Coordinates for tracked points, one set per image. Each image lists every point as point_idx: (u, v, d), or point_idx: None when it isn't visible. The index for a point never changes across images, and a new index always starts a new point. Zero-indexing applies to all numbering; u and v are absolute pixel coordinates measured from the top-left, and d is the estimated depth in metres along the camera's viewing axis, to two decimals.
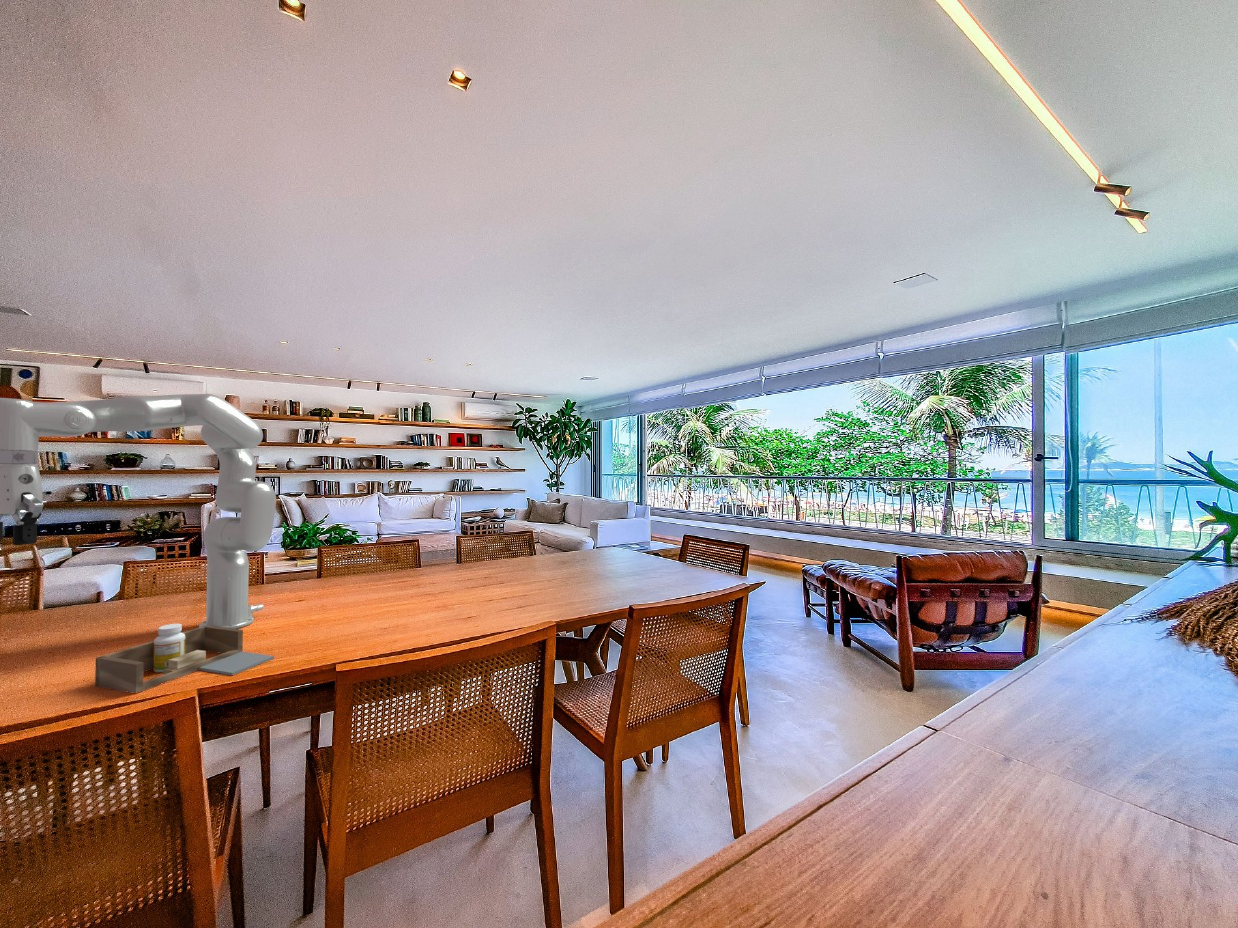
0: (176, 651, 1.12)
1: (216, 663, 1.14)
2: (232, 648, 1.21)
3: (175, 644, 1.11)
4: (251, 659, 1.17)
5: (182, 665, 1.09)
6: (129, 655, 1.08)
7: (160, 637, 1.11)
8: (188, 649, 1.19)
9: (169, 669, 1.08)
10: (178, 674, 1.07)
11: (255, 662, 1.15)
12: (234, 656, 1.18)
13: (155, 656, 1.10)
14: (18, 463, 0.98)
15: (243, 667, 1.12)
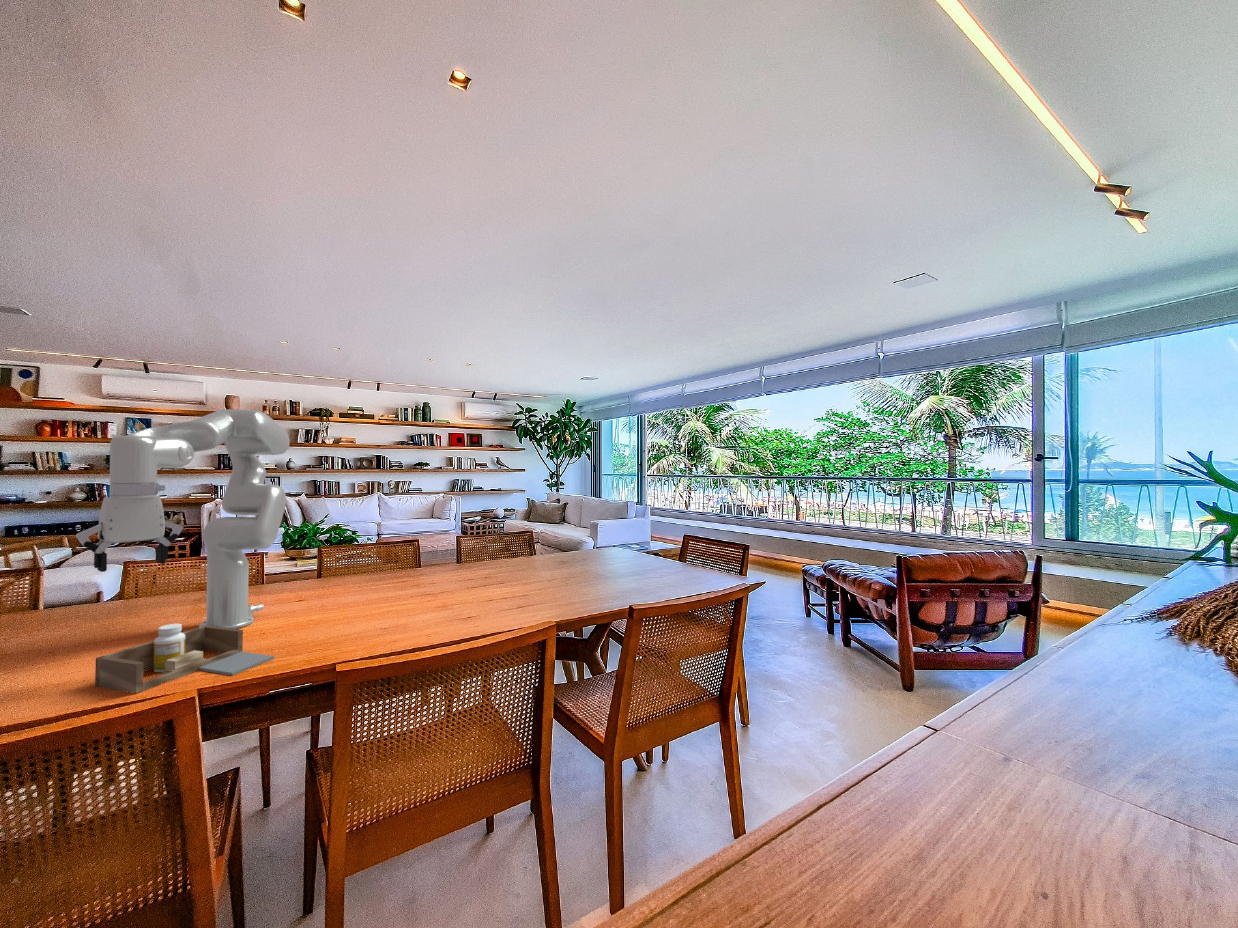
0: (176, 651, 1.12)
1: (216, 663, 1.14)
2: (232, 648, 1.21)
3: (175, 644, 1.11)
4: (251, 659, 1.17)
5: (180, 665, 1.09)
6: (129, 655, 1.08)
7: (160, 637, 1.11)
8: (188, 649, 1.19)
9: (168, 669, 1.08)
10: (178, 674, 1.07)
11: (255, 662, 1.15)
12: (234, 656, 1.18)
13: (155, 656, 1.10)
14: None
15: (243, 667, 1.12)
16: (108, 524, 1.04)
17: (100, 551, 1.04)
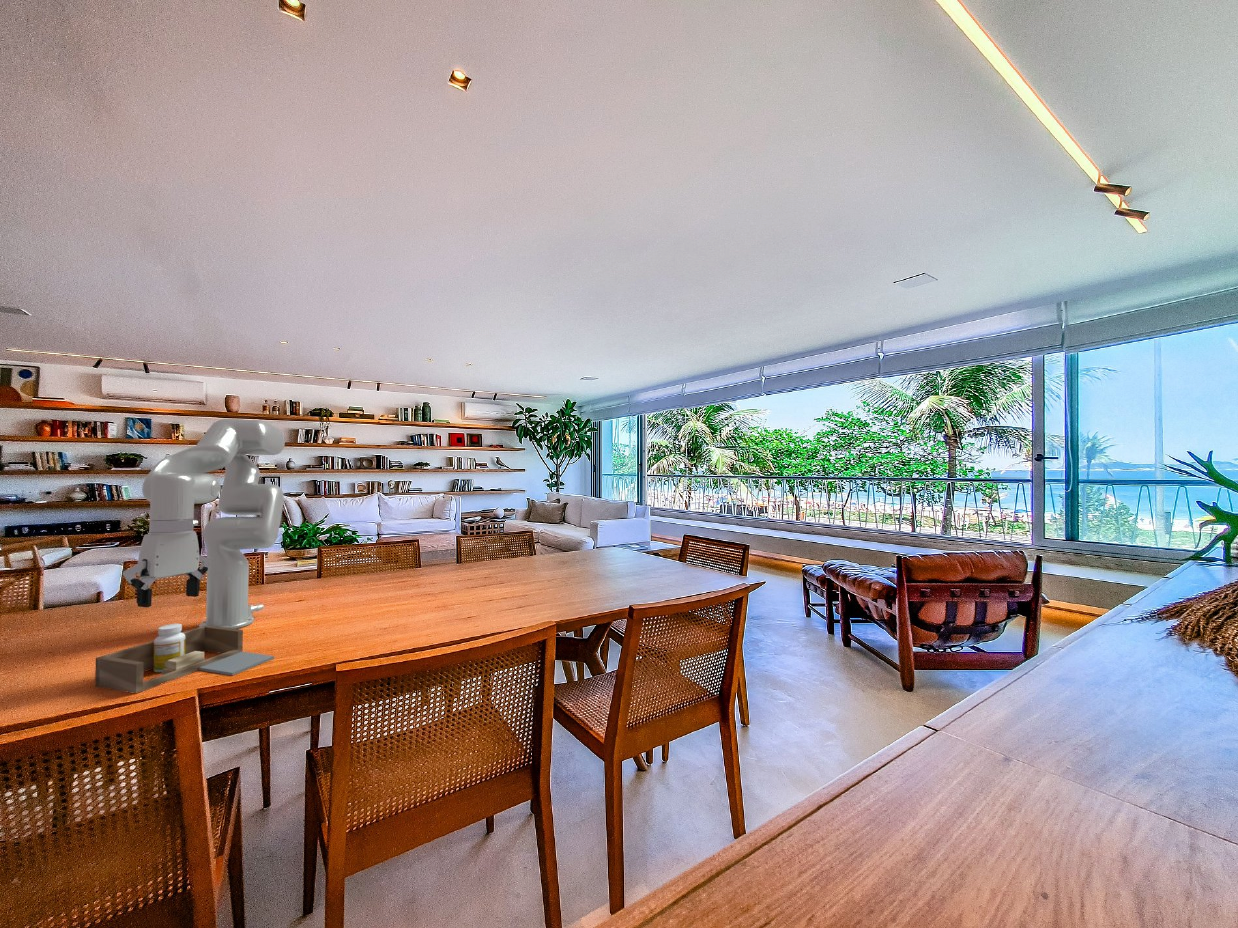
0: (176, 651, 1.12)
1: (216, 663, 1.14)
2: (232, 648, 1.21)
3: (175, 644, 1.11)
4: (251, 659, 1.17)
5: (181, 666, 1.09)
6: (129, 655, 1.08)
7: (160, 637, 1.11)
8: (188, 649, 1.19)
9: (168, 669, 1.08)
10: (178, 674, 1.07)
11: (255, 662, 1.15)
12: (234, 656, 1.18)
13: (155, 656, 1.10)
14: None
15: (243, 667, 1.12)
16: (155, 560, 1.07)
17: (146, 587, 1.07)
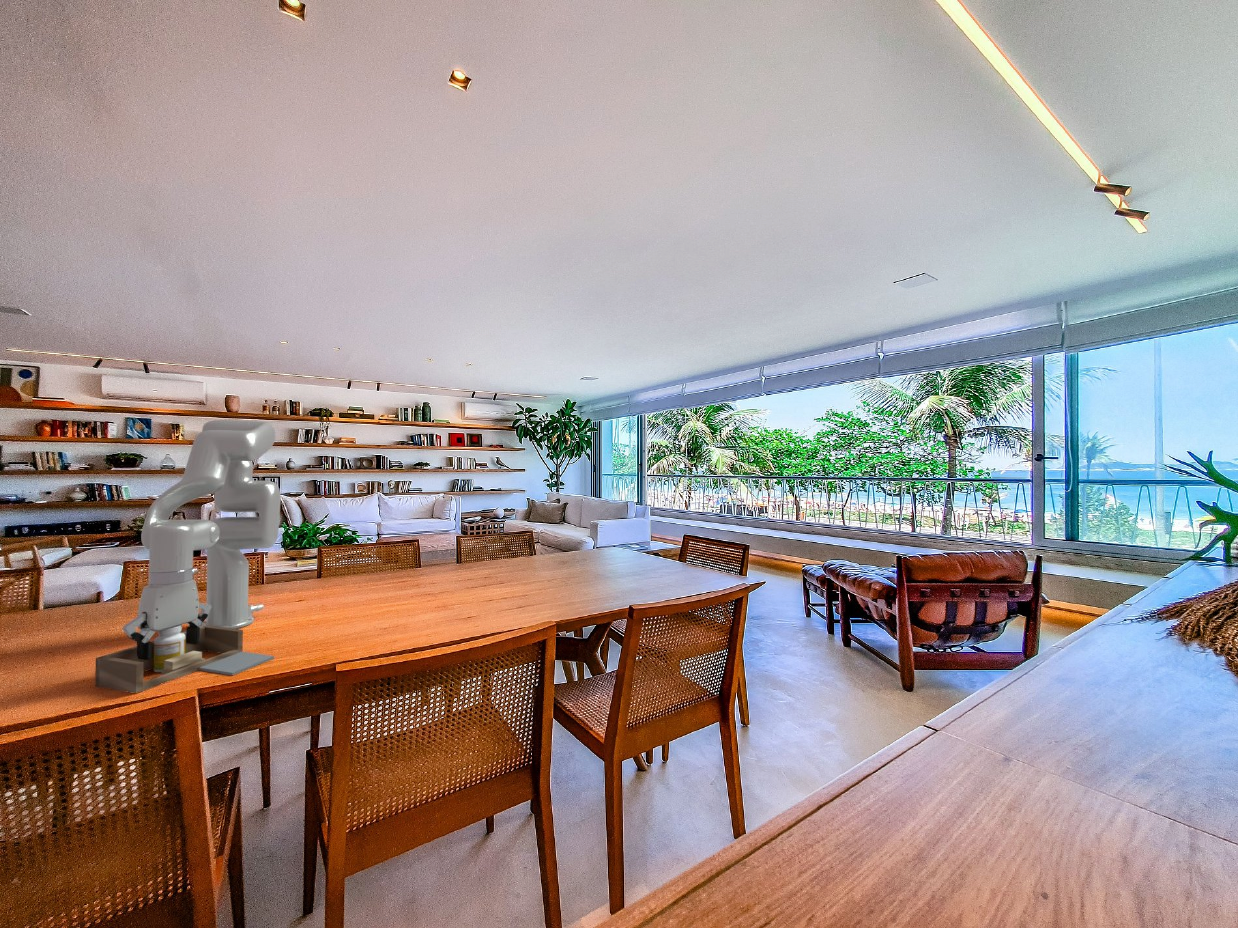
0: (176, 651, 1.12)
1: (216, 663, 1.14)
2: (232, 648, 1.21)
3: (175, 644, 1.11)
4: (251, 659, 1.17)
5: (177, 666, 1.09)
6: (129, 655, 1.08)
7: (160, 637, 1.11)
8: (188, 649, 1.19)
9: (167, 669, 1.08)
10: (178, 674, 1.07)
11: (255, 662, 1.15)
12: (234, 656, 1.18)
13: (155, 656, 1.10)
14: None
15: (243, 667, 1.12)
16: (154, 613, 1.08)
17: (146, 640, 1.07)
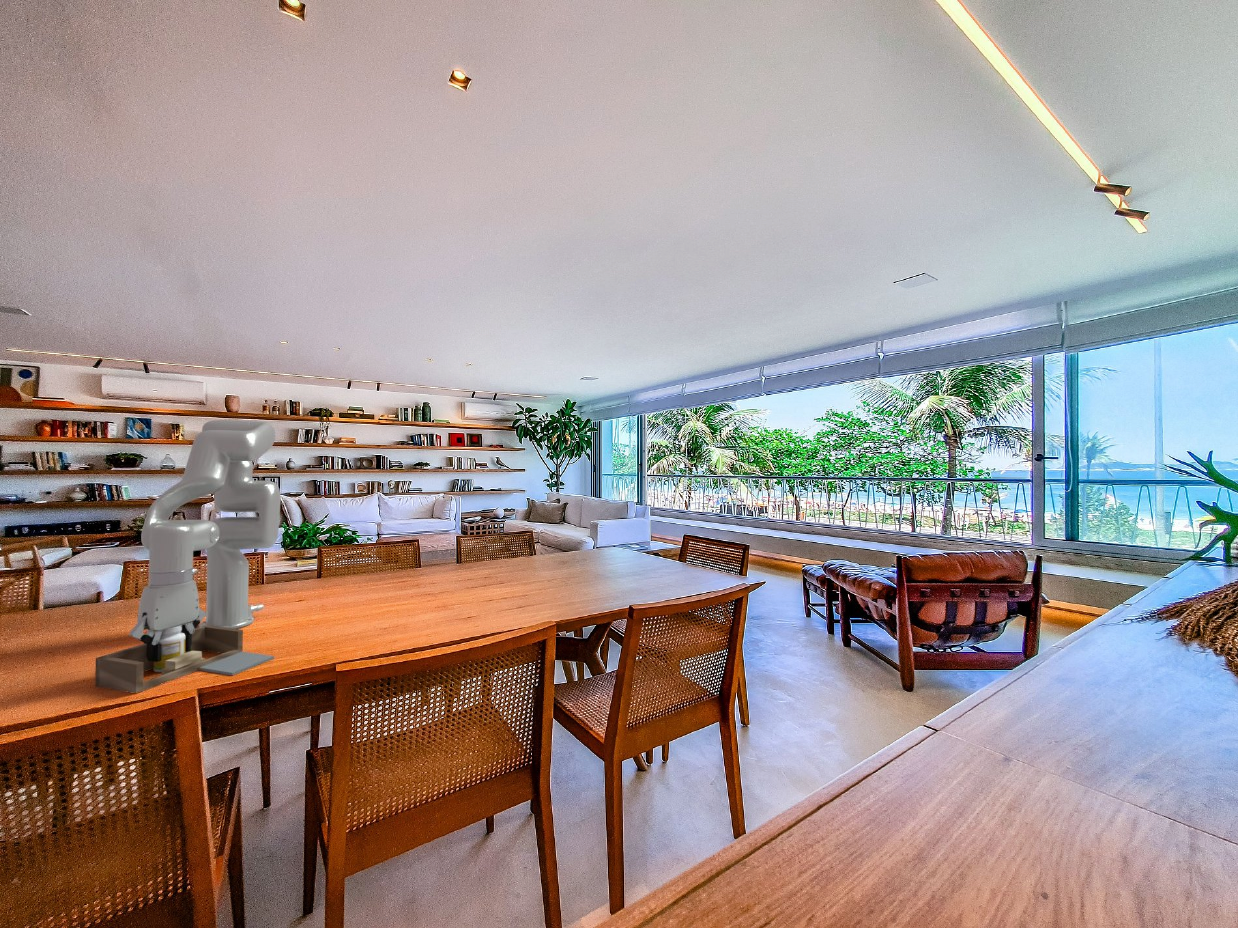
0: (176, 651, 1.12)
1: (216, 663, 1.14)
2: (232, 648, 1.21)
3: (175, 644, 1.11)
4: (251, 659, 1.17)
5: (180, 666, 1.09)
6: (129, 655, 1.08)
7: (160, 637, 1.11)
8: None
9: (167, 669, 1.08)
10: (178, 674, 1.07)
11: (255, 662, 1.15)
12: (234, 656, 1.18)
13: None
14: None
15: (243, 667, 1.12)
16: (154, 614, 1.08)
17: (155, 642, 1.09)
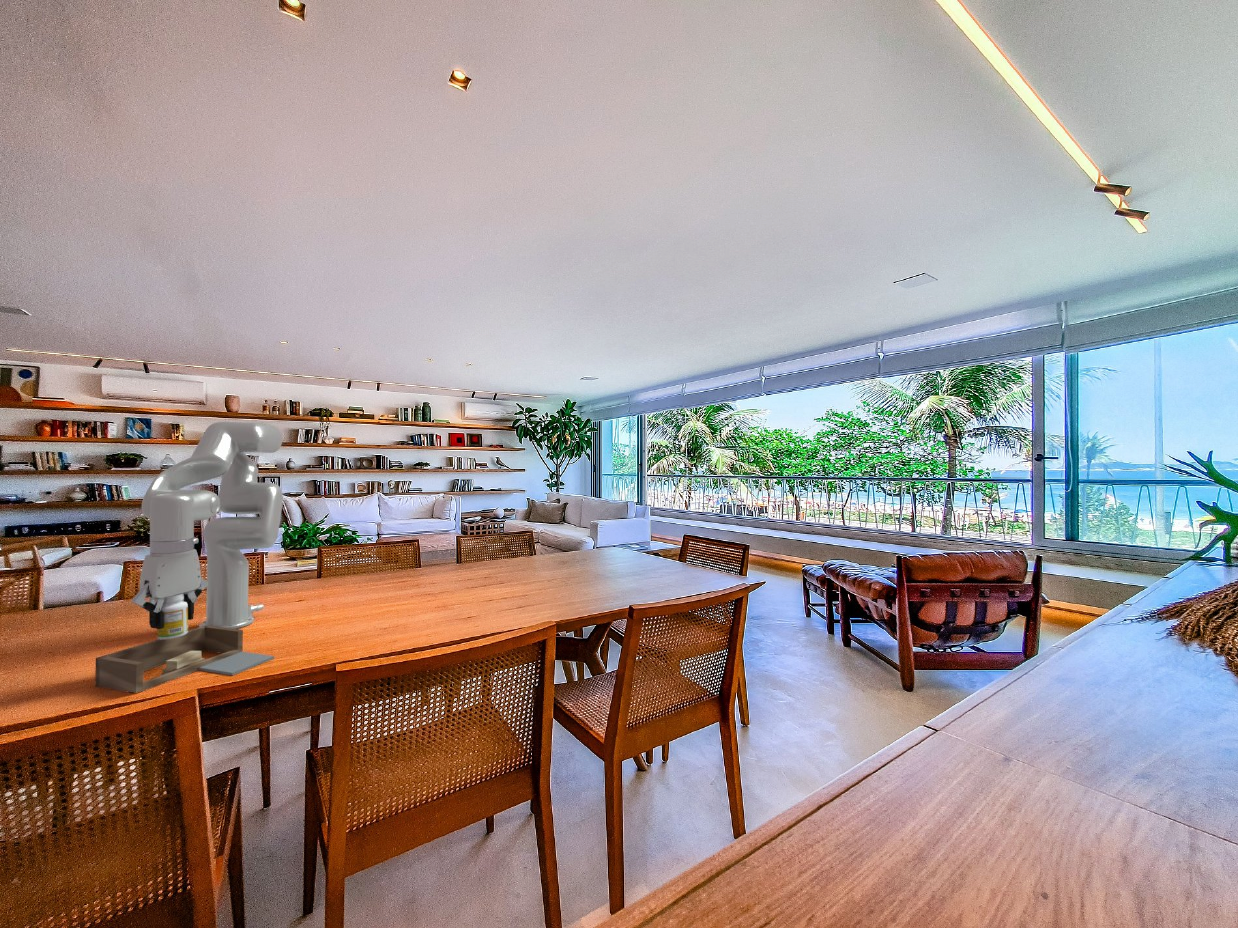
0: (179, 619, 1.12)
1: (216, 663, 1.14)
2: (232, 648, 1.21)
3: (177, 612, 1.12)
4: (251, 659, 1.17)
5: (181, 665, 1.09)
6: (129, 655, 1.08)
7: (162, 605, 1.11)
8: (188, 649, 1.19)
9: (167, 669, 1.08)
10: (178, 674, 1.07)
11: (255, 662, 1.15)
12: (234, 656, 1.18)
13: None
14: None
15: (243, 667, 1.12)
16: (156, 581, 1.08)
17: (158, 610, 1.09)
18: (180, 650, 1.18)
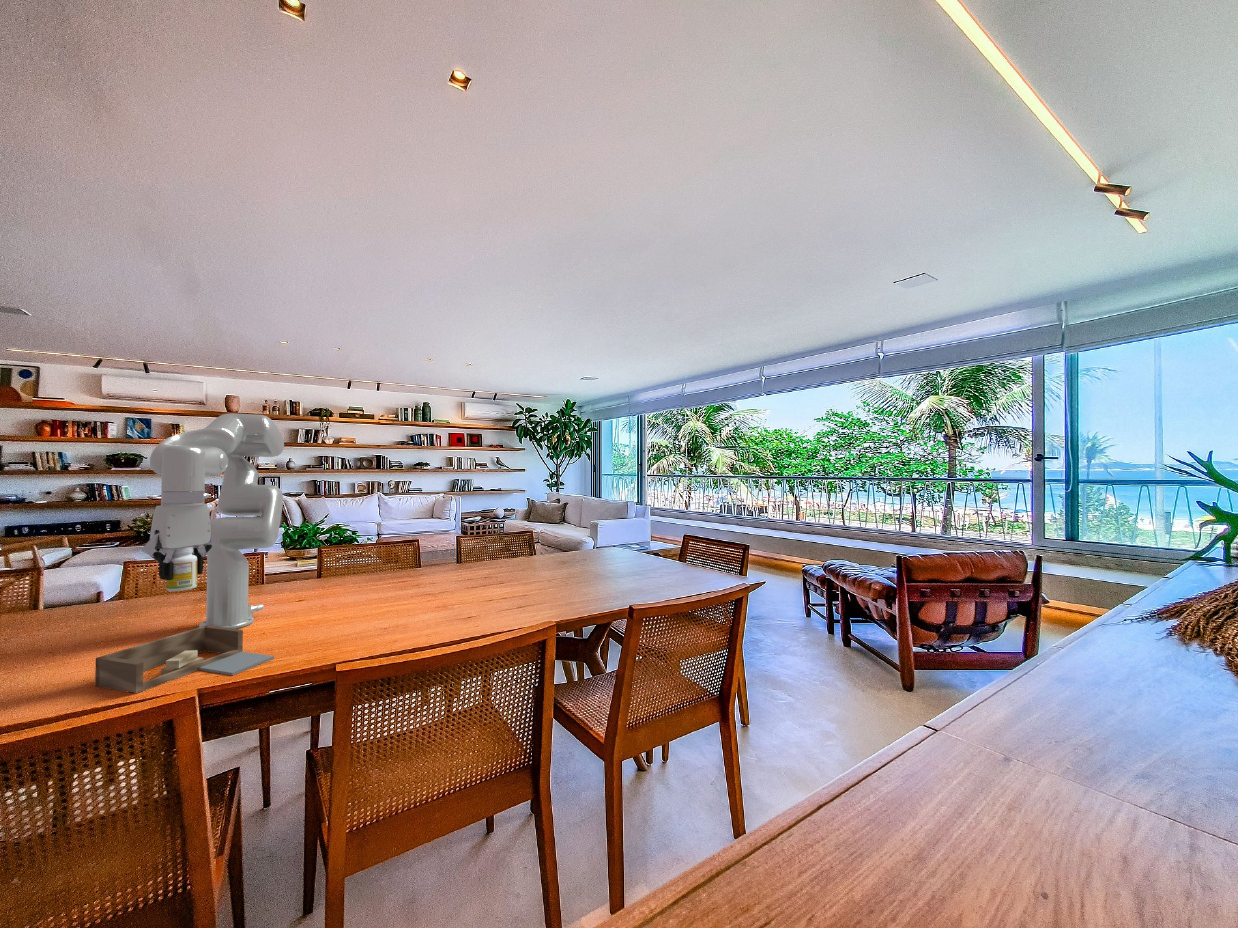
0: (188, 571, 1.12)
1: (216, 663, 1.14)
2: (232, 648, 1.21)
3: (186, 564, 1.12)
4: (251, 659, 1.17)
5: (182, 664, 1.10)
6: (129, 655, 1.08)
7: (172, 557, 1.11)
8: (188, 649, 1.19)
9: None
10: (178, 674, 1.07)
11: (255, 662, 1.15)
12: (234, 656, 1.18)
13: None
14: None
15: (243, 667, 1.12)
16: (166, 531, 1.08)
17: (167, 560, 1.09)
18: (180, 650, 1.18)
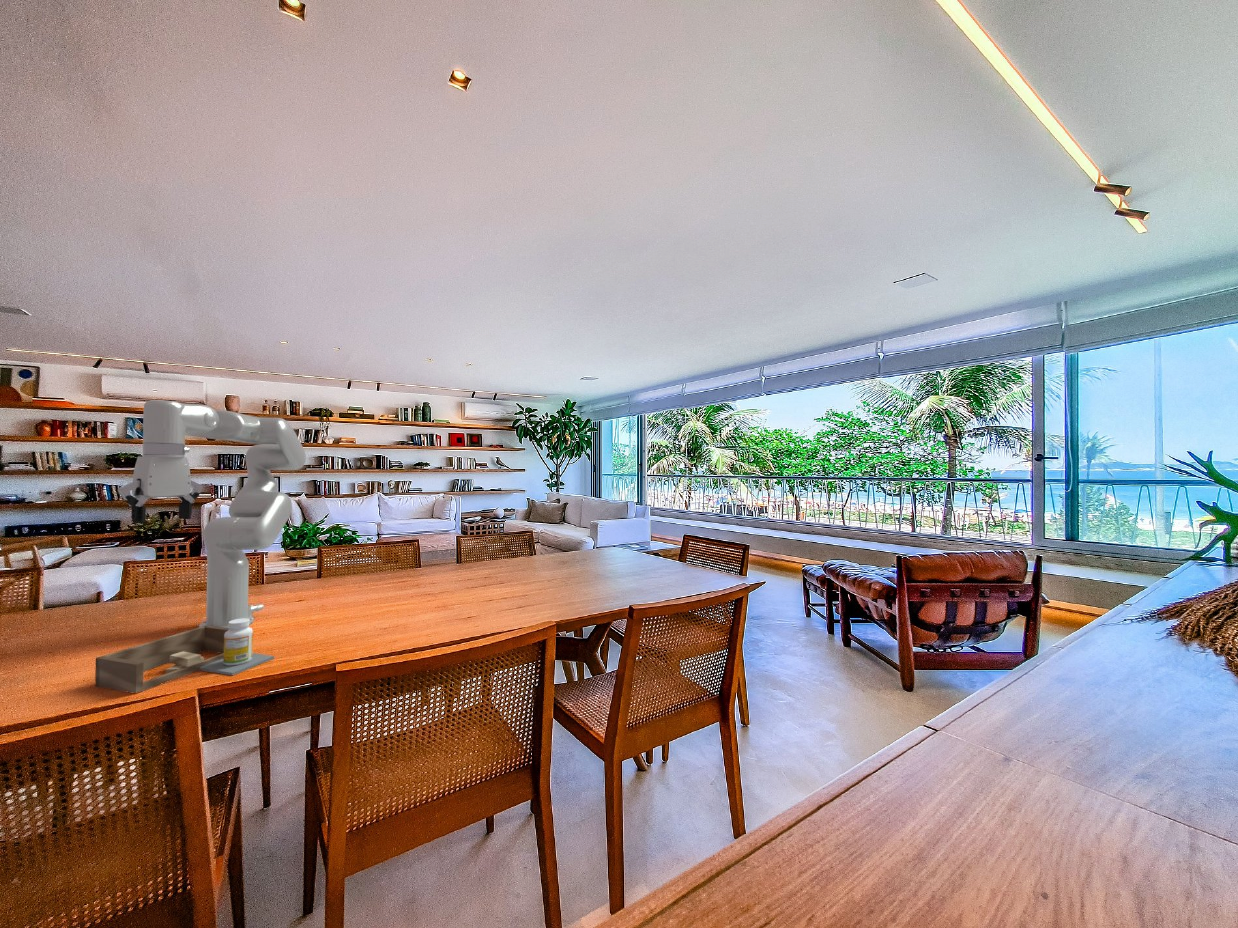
0: (245, 645, 1.14)
1: (216, 663, 1.14)
2: None
3: (243, 638, 1.14)
4: (251, 659, 1.17)
5: None
6: (129, 655, 1.08)
7: (230, 631, 1.14)
8: (188, 649, 1.19)
9: (173, 668, 1.09)
10: (178, 674, 1.07)
11: (255, 662, 1.15)
12: None
13: (225, 649, 1.13)
14: None
15: (243, 667, 1.12)
16: (148, 480, 1.14)
17: (140, 504, 1.13)
18: (180, 650, 1.18)
